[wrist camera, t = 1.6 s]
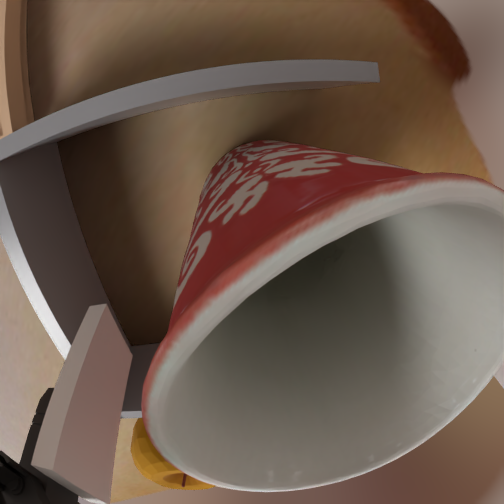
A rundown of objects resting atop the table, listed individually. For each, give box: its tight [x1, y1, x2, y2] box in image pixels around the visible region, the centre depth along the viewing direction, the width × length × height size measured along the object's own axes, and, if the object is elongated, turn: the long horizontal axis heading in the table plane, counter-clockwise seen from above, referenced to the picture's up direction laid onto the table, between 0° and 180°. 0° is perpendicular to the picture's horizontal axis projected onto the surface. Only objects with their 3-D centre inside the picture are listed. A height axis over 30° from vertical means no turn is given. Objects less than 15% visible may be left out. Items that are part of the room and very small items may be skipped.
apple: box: [131, 418, 215, 490], centre depth 20 cm, size 9×8×9 cm
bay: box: [0, 60, 380, 418], centre depth 14 cm, size 16×17×6 cm
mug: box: [141, 140, 504, 492], centre depth 11 cm, size 13×9×14 cm
